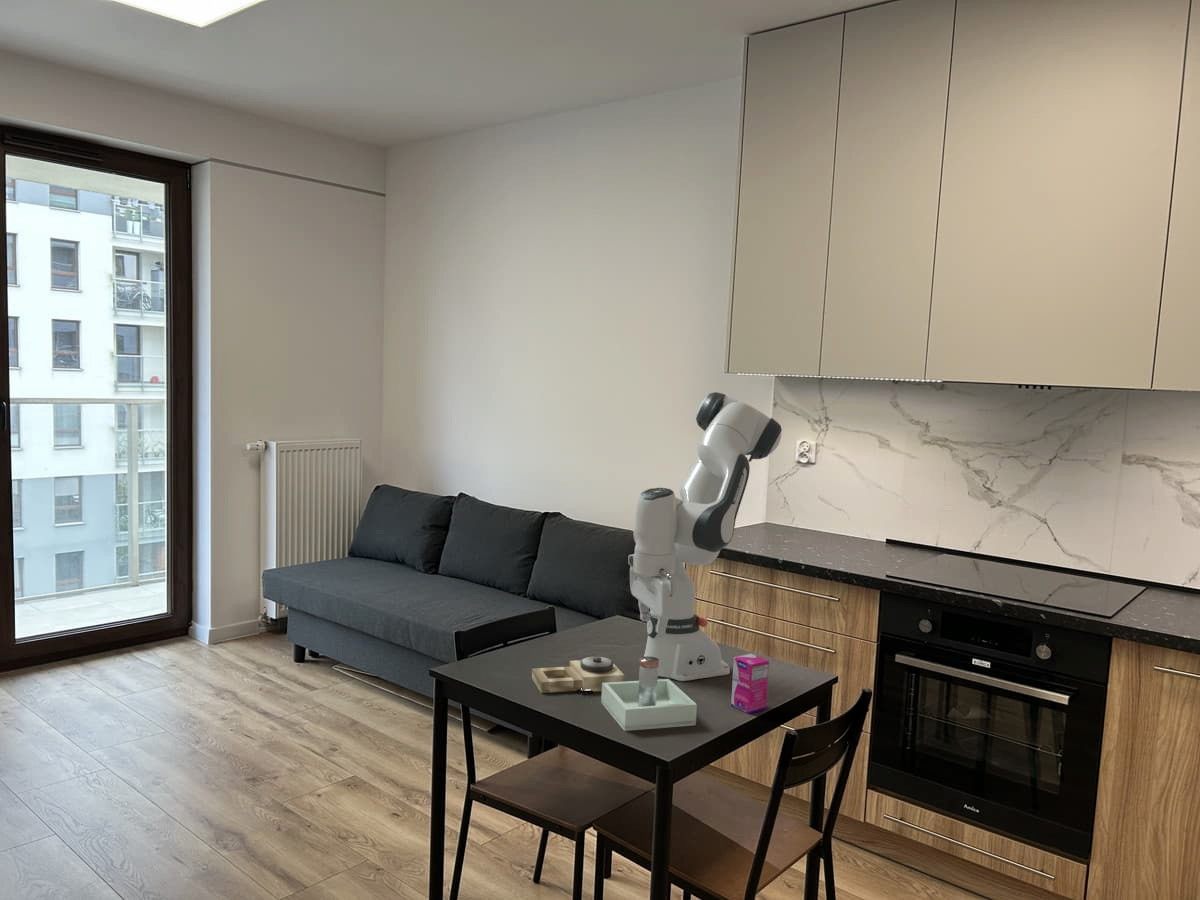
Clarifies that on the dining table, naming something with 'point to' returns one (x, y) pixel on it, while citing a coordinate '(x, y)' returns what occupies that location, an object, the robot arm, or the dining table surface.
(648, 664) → the lock pin
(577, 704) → the dining table surface
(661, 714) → the tray
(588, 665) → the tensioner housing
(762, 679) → the supplement box
